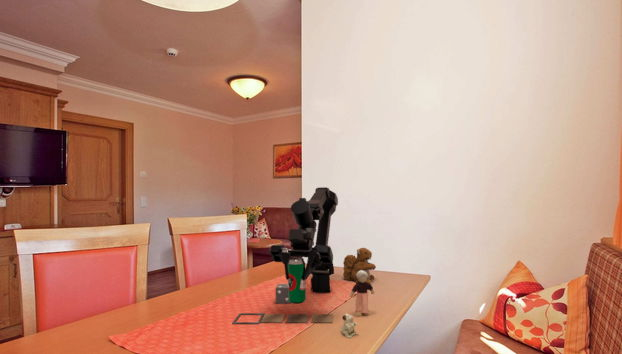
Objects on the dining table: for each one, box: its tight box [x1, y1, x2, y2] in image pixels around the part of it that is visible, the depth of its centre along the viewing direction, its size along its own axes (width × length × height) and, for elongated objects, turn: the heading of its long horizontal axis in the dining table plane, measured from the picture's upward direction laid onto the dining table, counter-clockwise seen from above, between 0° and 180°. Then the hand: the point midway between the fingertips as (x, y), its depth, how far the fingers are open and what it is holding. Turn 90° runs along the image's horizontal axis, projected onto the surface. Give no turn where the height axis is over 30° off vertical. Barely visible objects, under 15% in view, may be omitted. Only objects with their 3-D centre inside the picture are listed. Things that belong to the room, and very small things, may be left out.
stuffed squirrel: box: [342, 247, 377, 285], centre depth 137 cm, size 10×14×13 cm
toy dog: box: [339, 313, 359, 339], centre depth 84 cm, size 4×5×5 cm
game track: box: [231, 312, 334, 325], centre depth 95 cm, size 28×8×1 cm, turn 87°
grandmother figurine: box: [349, 270, 375, 317], centre depth 98 cm, size 8×4×13 cm, turn 117°
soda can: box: [287, 257, 307, 305], centre depth 96 cm, size 5×5×12 cm
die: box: [275, 283, 292, 305], centre depth 111 cm, size 5×5×5 cm
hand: (295, 279), depth 95 cm, fingers closed on soda can, 5 cm apart
